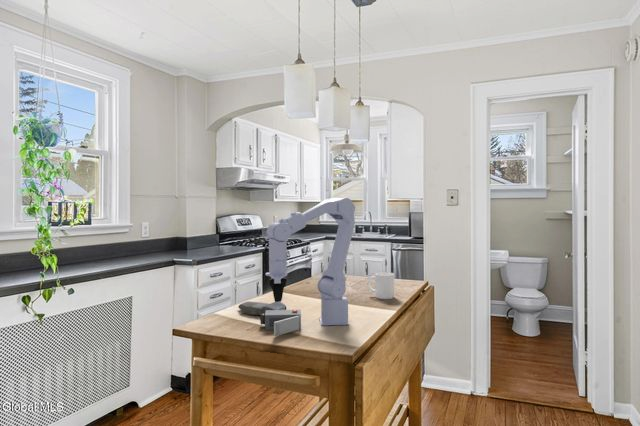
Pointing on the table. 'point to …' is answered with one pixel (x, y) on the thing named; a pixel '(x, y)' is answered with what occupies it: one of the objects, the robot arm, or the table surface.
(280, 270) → the robot arm
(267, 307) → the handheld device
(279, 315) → the camera body
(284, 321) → the side door
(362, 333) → the table surface
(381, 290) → the mug
